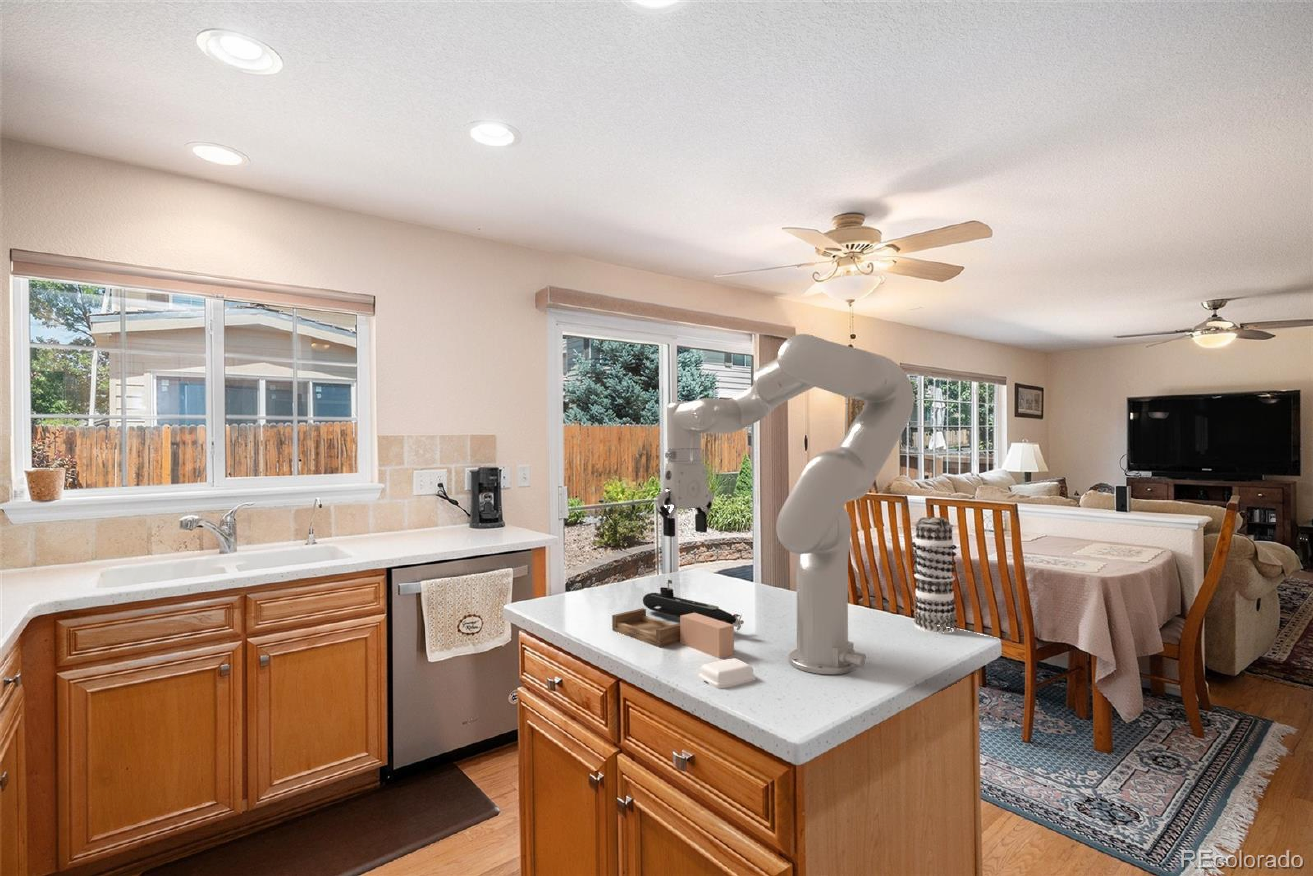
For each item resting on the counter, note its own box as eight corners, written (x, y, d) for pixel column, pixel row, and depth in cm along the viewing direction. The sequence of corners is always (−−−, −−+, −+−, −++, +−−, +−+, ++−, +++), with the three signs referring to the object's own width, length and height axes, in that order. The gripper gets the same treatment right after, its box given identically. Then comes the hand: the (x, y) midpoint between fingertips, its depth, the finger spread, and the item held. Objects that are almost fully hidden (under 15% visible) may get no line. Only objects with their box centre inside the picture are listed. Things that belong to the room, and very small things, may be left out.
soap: (735, 670, 119) (735, 654, 119) (758, 681, 113) (758, 665, 113) (695, 679, 115) (695, 662, 115) (717, 691, 109) (717, 674, 109)
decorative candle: (949, 638, 136) (948, 521, 137) (906, 630, 143) (905, 518, 143) (963, 629, 143) (962, 518, 143) (921, 621, 149) (920, 515, 150)
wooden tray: (690, 638, 137) (690, 622, 137) (660, 647, 131) (660, 630, 131) (642, 623, 149) (642, 608, 149) (612, 630, 143) (612, 615, 143)
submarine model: (752, 634, 139) (748, 589, 138) (732, 643, 134) (728, 597, 134) (655, 609, 162) (652, 571, 161) (635, 617, 157) (632, 577, 157)
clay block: (734, 655, 127) (733, 625, 127) (719, 659, 124) (719, 628, 124) (694, 640, 136) (694, 612, 136) (680, 644, 134) (680, 615, 134)
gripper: (666, 457, 133) (667, 539, 133) (723, 456, 144) (724, 531, 144) (643, 457, 139) (644, 536, 138) (700, 456, 150) (701, 528, 150)
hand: (685, 533), depth 141 cm, fingers open, 9 cm apart
